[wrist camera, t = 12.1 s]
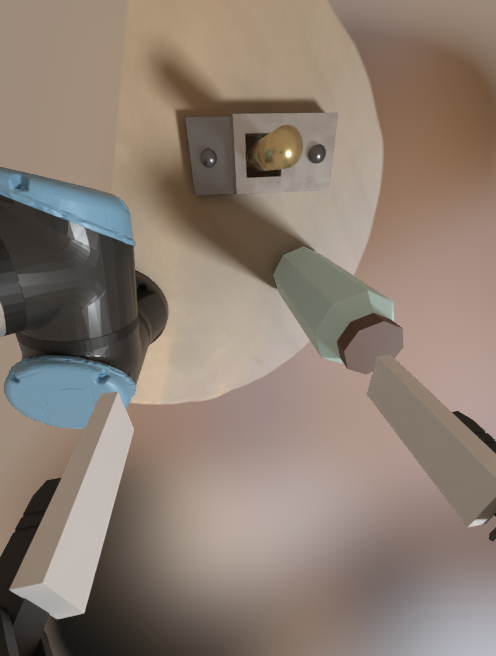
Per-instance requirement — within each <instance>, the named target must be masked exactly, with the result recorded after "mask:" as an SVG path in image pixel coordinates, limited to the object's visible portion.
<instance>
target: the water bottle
mask: <svg viewBox="0 0 496 656" xmlns="http://www.w3.org/2000/svg"><path fill="white" fill-rule="evenodd" d="M273 276H274V279H275V282H276V285H277V288H278V291H279V294H280V295H281V297H282V298H283V300H284V301H285V303H286V304H287V306H288V307H289V309H290V310H291V312H292V313H293V315H294V316H295V318H296V320H297V321H298V323H299V324H300V326H301V327H302V329H303V330H304V332H305V333H306V335H307V336H308V338H309V339H310V341H311V342H312V344H313V345H314V347H315V348H316V350H317V352H318V353H319V354H320V356H321V357H322V358H325V359H329V360H332V361H335V362H339V363H342V364H345V366H346V367H347V369H350V370H353V371H356V372H360V373H363V374H367V373H370V372H372V371H373V370H374V366H375V363H376V359H377V357H378V356H385V355H391V356H393V357H394V358H395V357H396V355H397V354H398V353H399V352H400V351H401V350H402V348H403V330H402V328H401V327H400V326H399V325H397V324H396V323H395V322H394V309H393V301H391V300H390V299H388V298H387V297H385V296H383V295H382V294H381V293H379V292H378V291H376V290H375V289H373V288H372V287H370V286H368V285H367V284H365V283H364V282H362V281H361V280H359V279H358V278H356V277H355V276H353V275H352V274H350V273H349V272H347V271H346V270H344V269H343V268H341V267H339V266H338V265H336V264H335V263H333V262H332V261H330V260H329V259H327V258H326V257H324V256H323V255H321V254H319V253H317V252H315V251H313V250H310V249H308V248H306V247H304V246H303V247H301V248H298V249H296V250H293V251H291V252H289V253H286V254H284V255H283V256H282V258H281V260H280V262H279V264H278V266H277V268H276V270H275V272H274V274H273Z"/></svg>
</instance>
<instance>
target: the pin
mask: <svg viewBox="0 0 496 656" xmlns="http://www.w3.org/2000/svg"><path fill="white" fill-rule="evenodd" d="M302 151H303V140H302V136H301V134H300V132H299V131H298V130H297V129H296V128H295V127H294V126H291V125H282V126H280V127H278V128H277V129H275V130H274V131H272V132H271V133H269V134H268V135H266V136H265V137H263V138H262V139H260V140H259V141H257V142H255V143H254V144H253V145H252V146H251V147H250V148H249V150H248V154H247V160H248V163H249V165H250V167H251V168H252V169H253V170H255V171H268V170H278V169H287V168H290V167H292V166H294V165H295V164H296V163H297V162H298V161H299V159H300V157H301V155H302Z"/></svg>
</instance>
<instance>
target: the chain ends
mask: <svg viewBox="0 0 496 656" xmlns="http://www.w3.org/2000/svg"><path fill="white" fill-rule="evenodd" d="M337 117H338V113H263V114H232V116H214V117H185V120H186V128H187V136H188V143H189V151H190V159H191V167H192V175H193V183H194V191H195V196H199V195H220V194H255V193H276V192H297V191H318V190H329V186H330V178H331V169H332V160H333V152H334V143H335V134H336V126H337ZM282 125H291V126H294V127H295V128H296V129H297V130H298V131H299V132H300V134H301V136H302V140H303V151H302V155H301V157H300V159H299V161H298V162H297V163H296V164H295V165H294V166H292V167H290V168H287V169H278V170H276V177H251V178H247V176H246V145H245V137H246V136H266V135H268V134H269V133H271V132H272V131H274V130H275V129H277V128H278V127H280V126H282Z"/></svg>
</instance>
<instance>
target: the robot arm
mask: <svg viewBox="0 0 496 656" xmlns="http://www.w3.org/2000/svg"><path fill="white" fill-rule="evenodd" d="M133 246H136V243H135V241H134V240H133V234H132V225H131V216H130V212H129V209H128V207H127V205H126V204H125V203H124V202H123V201H122V200H121V199H120V198H119V197H117V196H115V195H113V194H110V193H106V192H103V191H99V190H96V189H92V188H88V187H84V186H80V185H76V184H71V183H67V182H63V181H59V180H54V179H50V178H46V177H42V176H38V175H33V174H29V173H25V172H20V171H16V170H11V169H7V168H3V167H0V337H3V336H6V335H9V334H13V333H15V334H16V337H17V340H18V342H19V345H20V348H21V351H22V360H21V361H20V362H19V363H16V364H15V365H14V366H13V367H12V368H11V370H10V371H9V375H8V377H7V378H6V380H5V383H4V392H5V395H6V397H7V399H8V401H9V402H10V403H11V405H12V406H13V407H14V408H15V409H17V410H18V411H19V412H21V413H22V414H23V415H25V416H27V417H29V418H31V419H33V420H35V421H39V422H42V423H45V424H47V425H51V426H55V427H61V428H71V429H82V428H85V429H84V431H83V434H82V436H81V438H80V440H79V442H78V444H77V446H76V449H75V451H74V453H73V455H72V457H71V459H70V461H69V463H68V465H67V468H66V470H65V472H64V474H63V476H62V478H58V479H52V480H47V481H46V482H45V483H44V484H43V485H42V486H41V487H40V489H39V490H38V491H37V492H36V493H35V494H34V495H33V497H32V499H31V501H30V502H29V504H28V506H27V508H26V510H25V512H24V514H23V515H24V516H23V518H21V519H20V521H19V523H18V525H17V527H16V529H15V530H16V531H15V533H13V534H12V536H11V538H10V540H9V542H8V544H7V546H6V548H5V549H4V551H3V553H2V555H1V557H0V656H53V654H52V651H51V648H50V645H49V641H48V637H47V634H46V632H45V631H44V627H45V624H46V621H47V618H48V616H49V615H51V616H53V617H54V618H56V619H61V618H65V617H70V616H74V615H79V614H83V613H84V612H85V608H86V604H87V601H88V597H89V593H90V590H91V586H92V582H93V579H94V575H95V571H96V568H97V564H98V560H99V557H100V553H101V549H102V546H103V542H104V538H105V535H106V531H107V527H108V523H109V520H110V516H111V513H112V509H113V505H114V501H115V498H116V494H117V490H118V486H119V483H120V479H121V475H122V472H123V468H124V464H125V461H126V457H127V454H128V450H129V446H130V443H131V439H132V435H133V431H134V428H133V426H132V423H131V421H130V419H129V416H128V414H127V412H126V409H127V407H128V405H129V403H130V400H131V398H132V397H133V396H134V394H135V391H136V384H137V381H138V378H139V374H140V371H141V368H142V365H143V362H144V359H145V355H146V352H147V349H148V346H149V345H150V344H151V343H153V342H154V341H155V340H156V339H157V338H158V337H159V336H160V335H161V334H162V332H163V330H164V329H165V326H166V323H167V319H168V304H167V300H166V298H165V296H164V294H163V292H162V291H161V289H160V288H159V287H158V286H157V285H156V284H155V283H154V282H153V281H152V280H151V279H150V278H148V277H147V276H145V275H143V274H141V273H139V272H137V271H135V261H134V247H133ZM367 395H368V396H369V398H370V399H371V400H372V402H373V403H374V404H375V406H376V407H377V408H378V410H379V411H380V412H381V414H382V415H383V416H384V417H385V419H386V420H387V421H388V423H389V424H390V425H391V427H392V428H393V429H394V431H395V432H396V433H397V435H398V436H399V437H400V439H401V440H402V441H403V443H404V444H405V445H406V447H407V448H408V449H409V450H410V452H411V453H412V454H413V456H414V457H415V458H416V460H417V461H418V462H419V464H420V465H421V466H422V468H423V469H424V470H425V472H426V473H427V474H428V476H429V477H430V478H431V480H432V481H433V482H434V484H435V485H436V486H437V488H438V489H439V490H440V492H441V493H442V494H443V495H444V497H445V498H446V499H447V501H448V502H449V503H450V505H451V506H452V507H453V509H454V510H455V511H456V513H457V514H458V515H459V517H460V518H461V519H462V521H463V522H464V523H465V525H466V526H467V527H472V526H476V525H481V524H485V523H487V522H488V521H489V520H490V519H491V518H492V517H493V516H494V515H495V516H496V442H495V439H493V438H492V437H491V436H490V435H489V434H488V433H485V431H484V430H483V429H482V428H481V427H480V426H479V425H478V424H477V423H476V422H474V421H473V420H472V419H470V418H469V417H467V416H465V415H464V414H462V413H460V412H459V411H455V412H451V411H449V409H448V408H447V407H446V406H444V405H443V404H442V403H441V402H440V401H439V400H438V399H437V398H436V397H435V396H434V395H433V394H432V393H431V392H430V391H429V390H428V389H426V388H425V387H424V386H423V385H422V384H421V383H420V382H419V381H418V380H417V379H416V378H415V377H414V376H412V374H411V373H409V372H408V371H407V370H406V369H405V368H404V367H403V366H402V365H401V364H400V363H399V362H398V361H396V359H395V358H394V357H393V356H391V355H385V356H378V357H377V359H376V363H375V366H374V370H373V374H372V377H371V381H370V384H369V388H368V392H367ZM495 539H496V528H495V529H494V530H493V531H492V532H491V533H490V534H489V540H491V541H494V540H495Z"/></svg>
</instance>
